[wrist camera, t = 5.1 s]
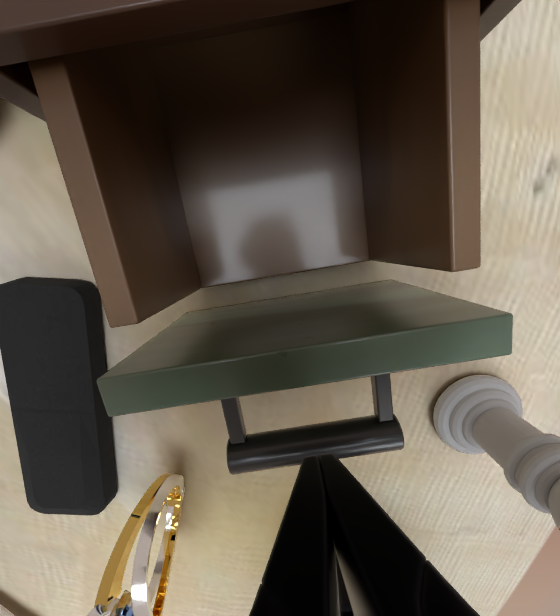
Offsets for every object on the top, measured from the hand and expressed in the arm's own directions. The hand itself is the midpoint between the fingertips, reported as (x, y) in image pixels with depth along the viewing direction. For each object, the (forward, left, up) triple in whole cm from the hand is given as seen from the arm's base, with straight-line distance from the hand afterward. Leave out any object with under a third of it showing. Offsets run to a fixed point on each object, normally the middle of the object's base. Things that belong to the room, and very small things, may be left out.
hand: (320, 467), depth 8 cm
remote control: (+7, +13, -9) cm, 17 cm away
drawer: (+7, 0, -8) cm, 11 cm away
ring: (-9, +9, -9) cm, 16 cm away
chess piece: (-6, -11, -9) cm, 15 cm away
